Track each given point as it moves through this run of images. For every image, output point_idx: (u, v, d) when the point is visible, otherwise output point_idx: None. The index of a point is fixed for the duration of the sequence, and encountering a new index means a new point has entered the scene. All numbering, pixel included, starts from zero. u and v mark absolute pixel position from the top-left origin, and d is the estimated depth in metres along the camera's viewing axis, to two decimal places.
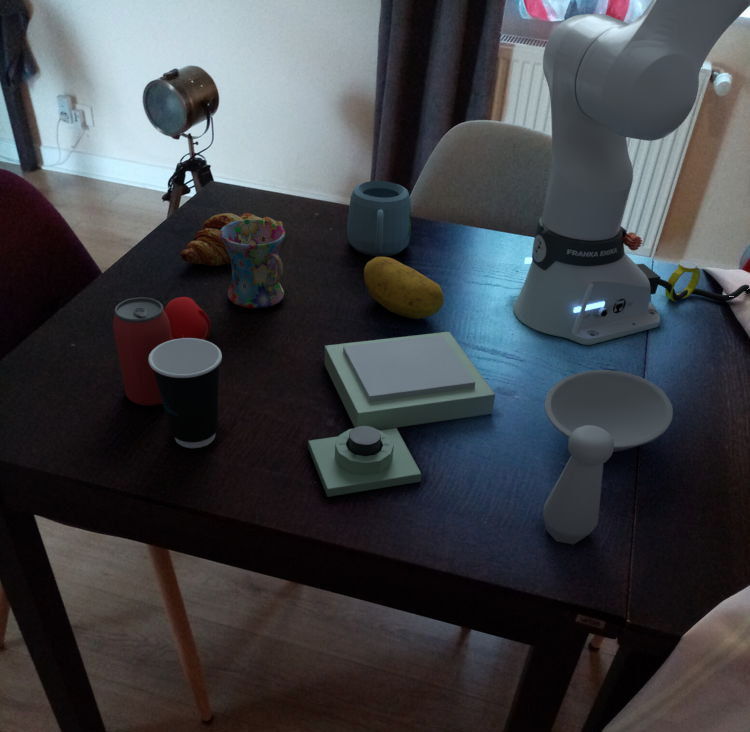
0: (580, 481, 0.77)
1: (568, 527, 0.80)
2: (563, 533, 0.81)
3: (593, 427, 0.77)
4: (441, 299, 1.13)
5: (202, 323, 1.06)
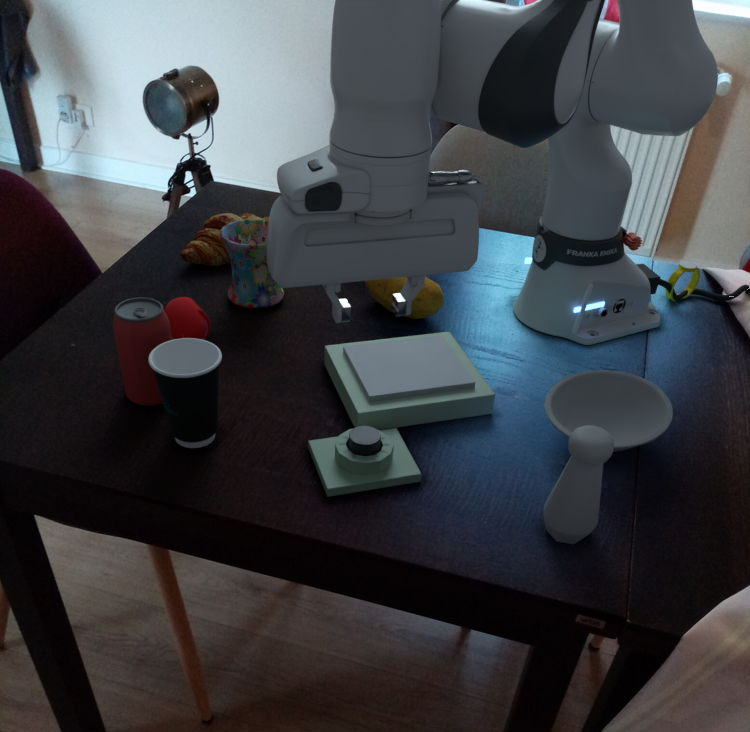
0: (580, 481, 0.77)
1: (568, 527, 0.80)
2: (563, 533, 0.81)
3: (593, 427, 0.77)
4: (441, 299, 1.13)
5: (202, 323, 1.06)
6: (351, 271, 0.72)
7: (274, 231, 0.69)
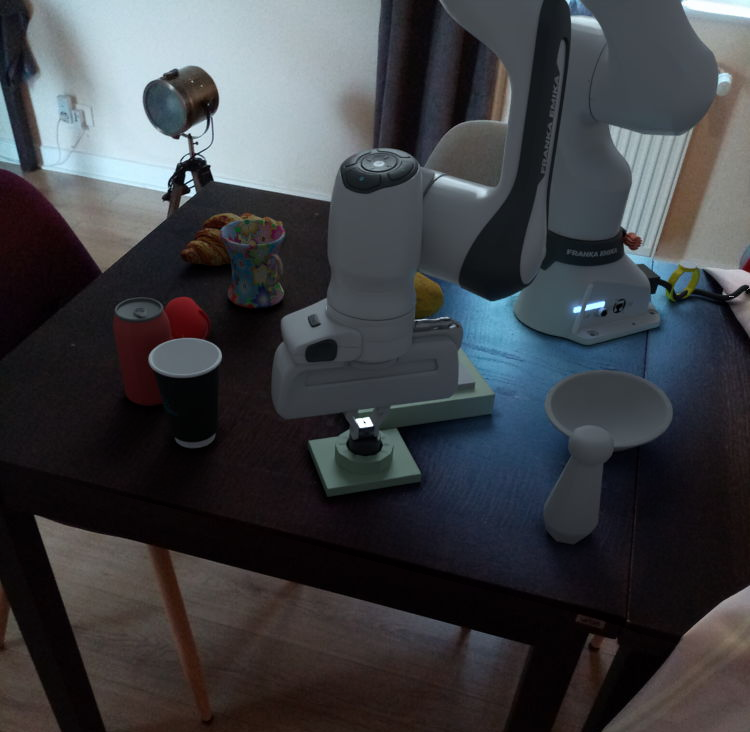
0: (580, 481, 0.77)
1: (568, 527, 0.80)
2: (563, 533, 0.81)
3: (593, 427, 0.77)
4: (441, 299, 1.13)
5: (202, 323, 1.06)
6: (346, 404, 0.82)
7: (278, 374, 0.79)
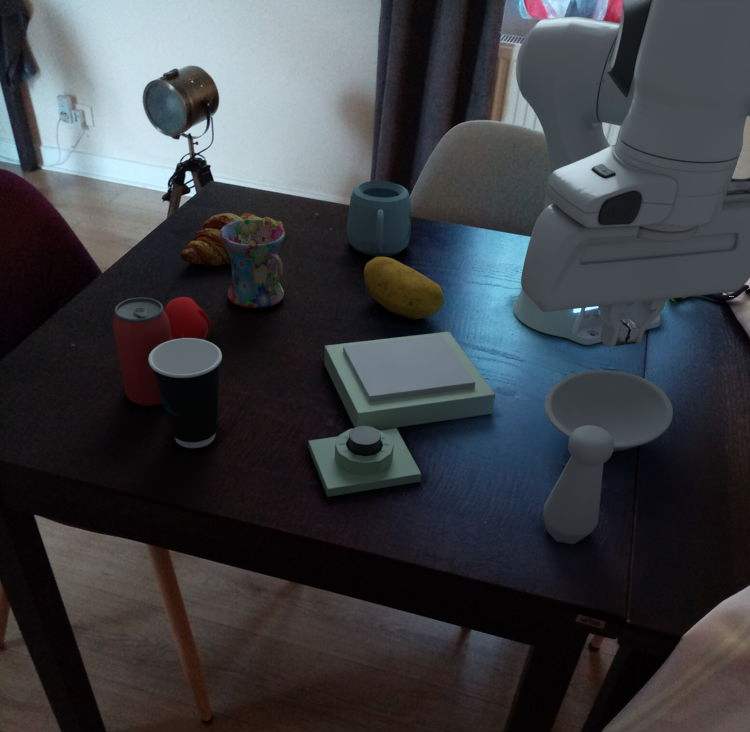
0: (580, 481, 0.77)
1: (568, 527, 0.80)
2: (563, 533, 0.81)
3: (593, 427, 0.77)
4: (441, 299, 1.13)
5: (202, 323, 1.06)
6: (620, 292, 0.63)
7: (546, 247, 0.60)
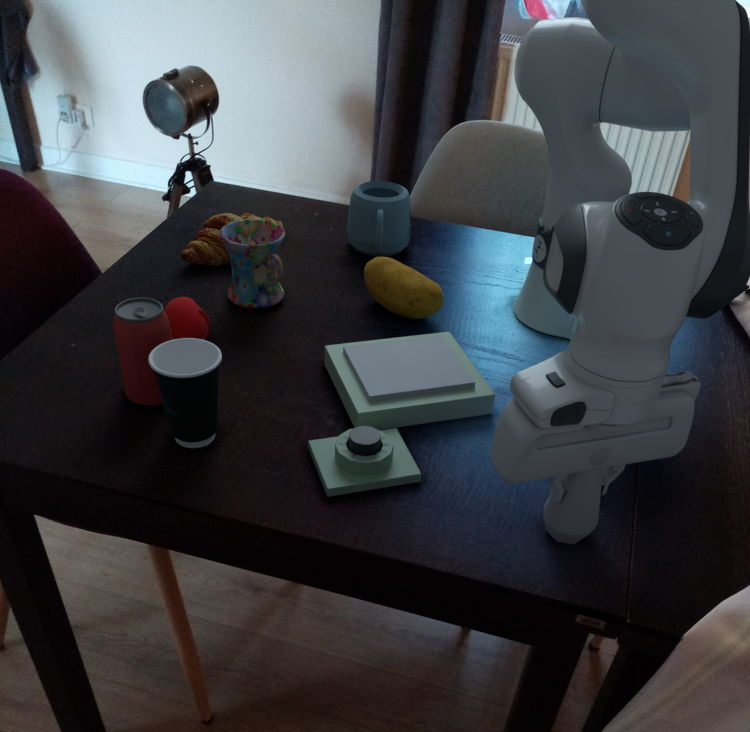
0: (580, 481, 0.77)
1: (568, 527, 0.80)
2: (563, 533, 0.81)
3: None
4: (441, 299, 1.13)
5: (202, 323, 1.06)
6: (573, 466, 0.75)
7: (509, 437, 0.72)
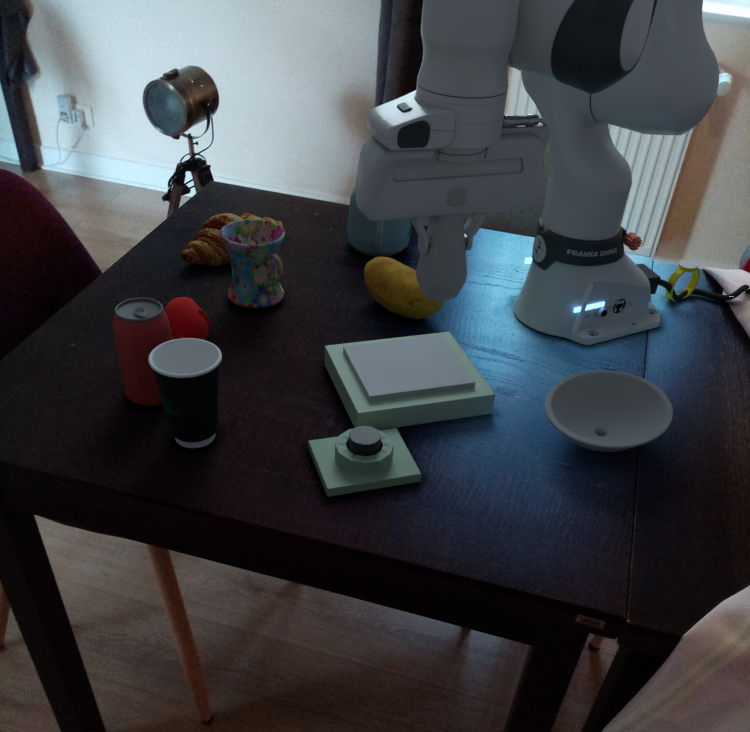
0: (442, 227, 0.83)
1: (436, 278, 0.86)
2: (432, 285, 0.87)
3: None
4: None
5: (202, 323, 1.06)
6: (431, 206, 0.81)
7: (366, 168, 0.77)
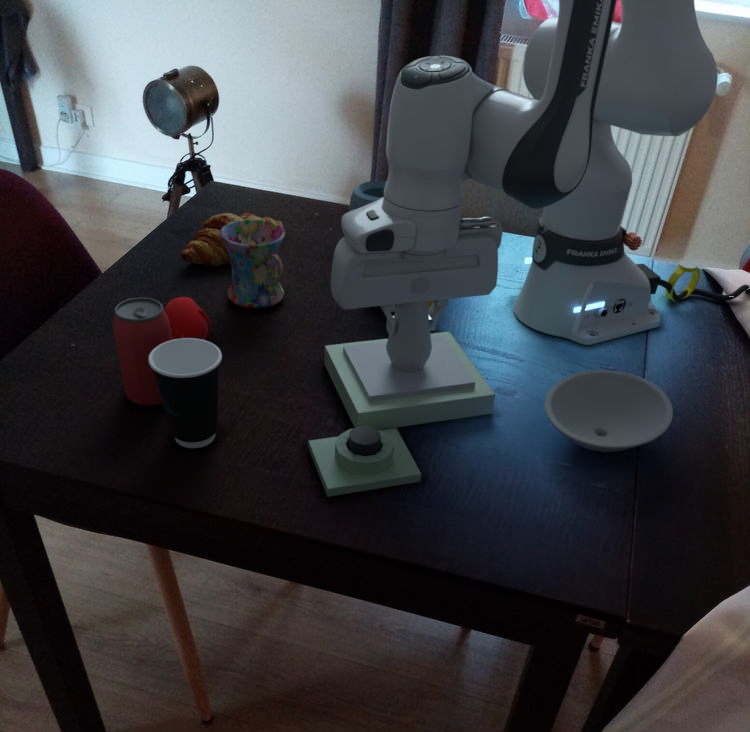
0: (408, 310, 0.94)
1: (403, 354, 0.97)
2: (400, 360, 0.97)
3: None
4: None
5: (202, 323, 1.06)
6: (397, 296, 0.92)
7: (339, 265, 0.88)
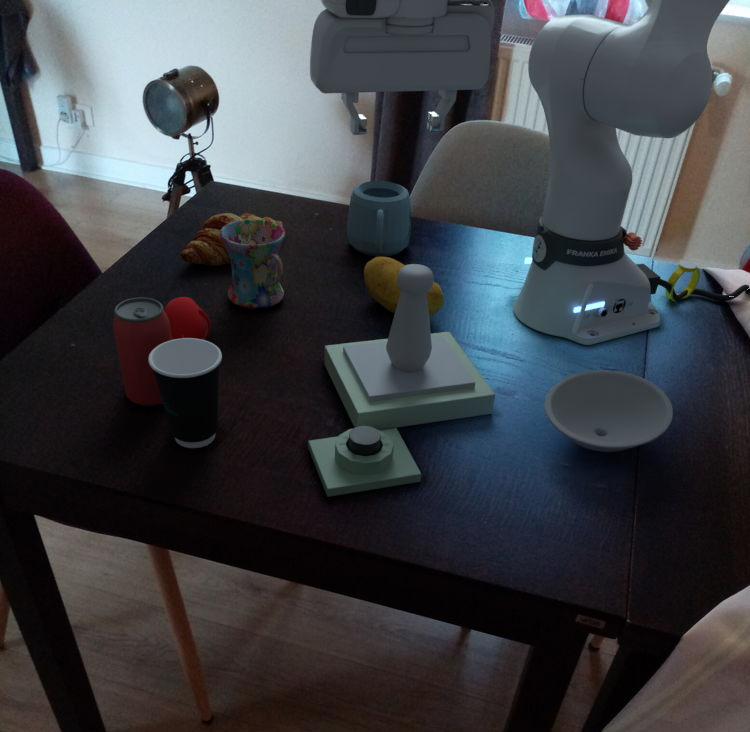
0: (408, 310, 0.94)
1: (403, 354, 0.97)
2: (400, 359, 0.97)
3: (417, 264, 0.93)
4: (441, 299, 1.13)
5: (202, 323, 1.06)
6: (382, 80, 0.85)
7: (318, 38, 0.82)
